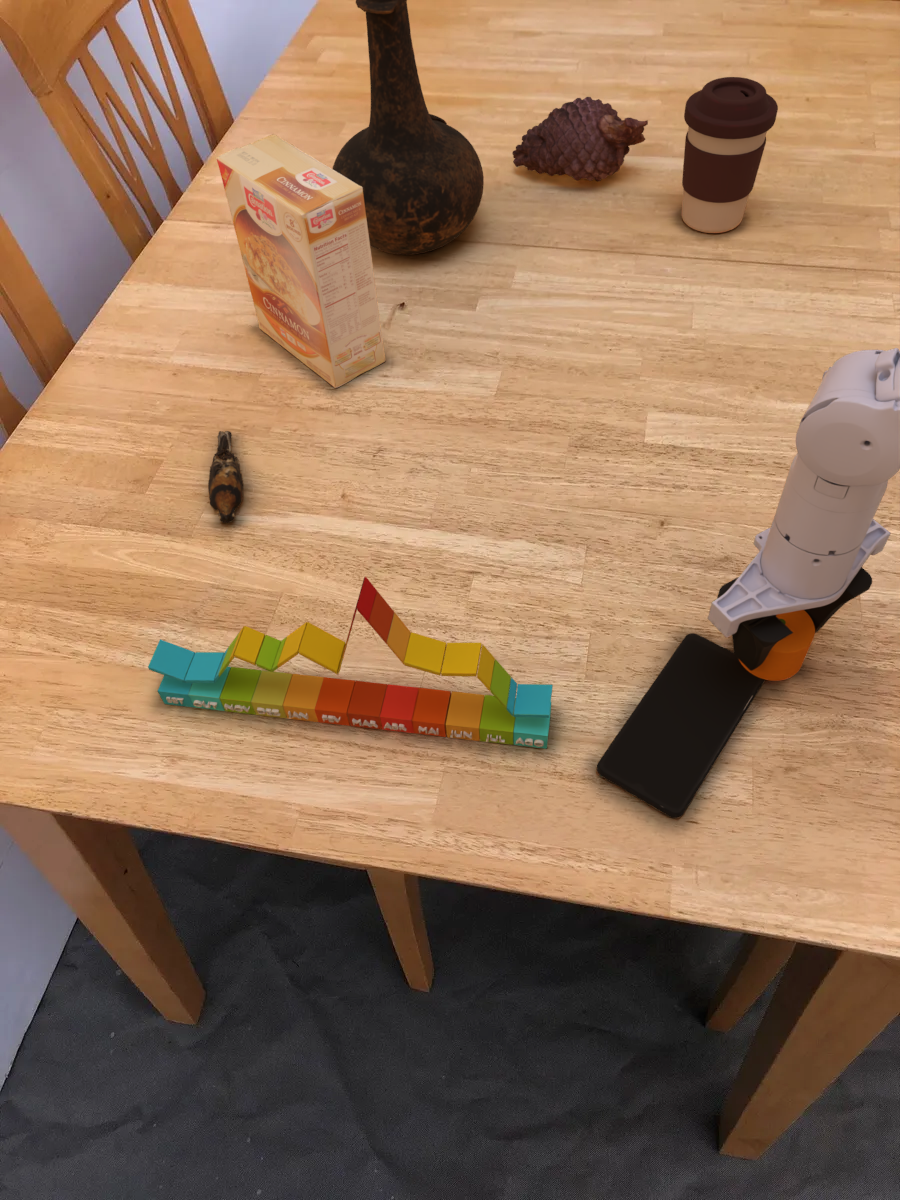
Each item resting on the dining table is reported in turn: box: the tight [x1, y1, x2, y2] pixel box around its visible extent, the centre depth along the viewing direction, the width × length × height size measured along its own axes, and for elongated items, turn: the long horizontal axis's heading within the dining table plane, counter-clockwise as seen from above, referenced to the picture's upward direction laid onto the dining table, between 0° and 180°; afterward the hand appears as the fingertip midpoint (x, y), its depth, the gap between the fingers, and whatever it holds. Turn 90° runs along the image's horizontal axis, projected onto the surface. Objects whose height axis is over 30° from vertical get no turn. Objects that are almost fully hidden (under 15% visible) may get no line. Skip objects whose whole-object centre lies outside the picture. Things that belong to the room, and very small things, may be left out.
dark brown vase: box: [332, 0, 485, 256], centre depth 103 cm, size 18×18×28 cm
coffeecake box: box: [215, 133, 386, 389], centre depth 93 cm, size 15×7×20 cm, turn 40°
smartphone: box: [596, 632, 766, 819], centre depth 69 cm, size 7×1×15 cm
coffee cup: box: [681, 76, 779, 234], centre depth 107 cm, size 10×10×15 cm
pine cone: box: [511, 96, 649, 183], centre depth 118 cm, size 18×10×10 cm
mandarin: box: [739, 610, 816, 682], centre depth 70 cm, size 5×5×4 cm
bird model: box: [207, 430, 244, 524], centre depth 87 cm, size 3×14×3 cm, turn 6°
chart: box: [147, 576, 554, 750], centre depth 66 cm, size 30×3×15 cm, turn 81°
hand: (773, 643), depth 71 cm, fingers closed on mandarin, 5 cm apart
